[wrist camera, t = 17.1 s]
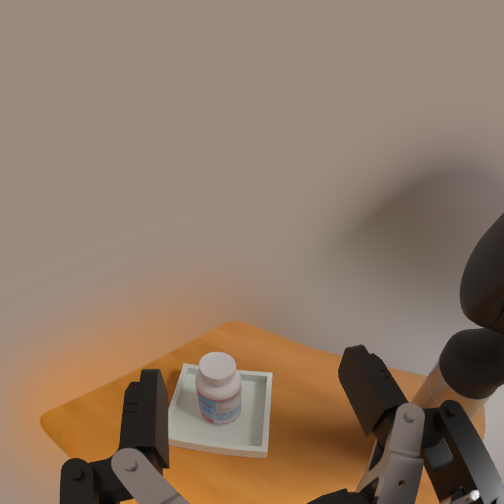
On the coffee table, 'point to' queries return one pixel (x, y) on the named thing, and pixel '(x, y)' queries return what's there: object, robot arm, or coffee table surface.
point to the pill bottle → (218, 388)
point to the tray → (228, 436)
